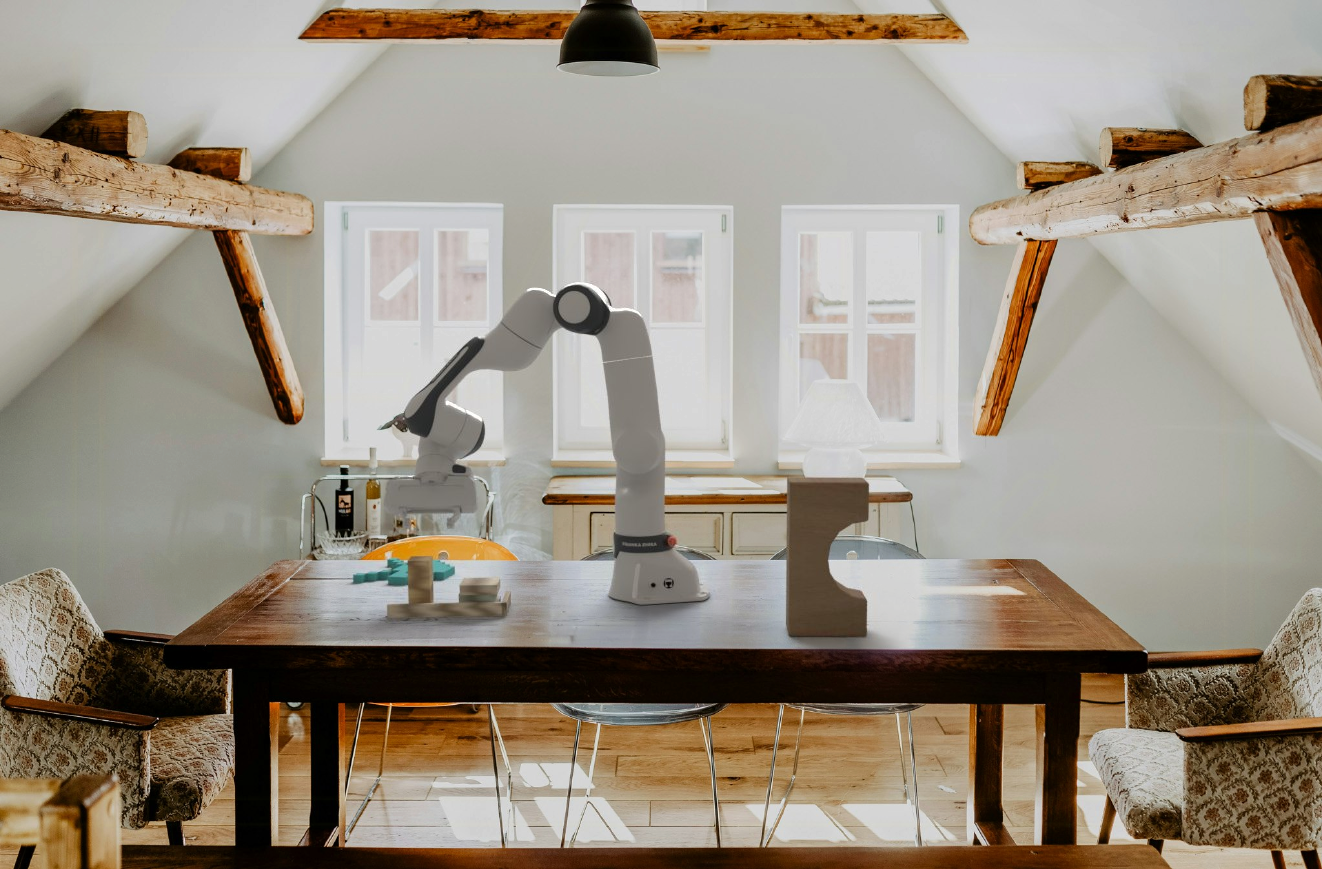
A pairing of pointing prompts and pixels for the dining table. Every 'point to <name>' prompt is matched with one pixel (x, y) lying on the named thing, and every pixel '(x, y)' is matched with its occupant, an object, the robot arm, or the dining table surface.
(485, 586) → the offcut stack
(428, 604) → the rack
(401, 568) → the alien figure
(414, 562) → the oak post
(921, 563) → the dining table surface
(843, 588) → the decorative block
